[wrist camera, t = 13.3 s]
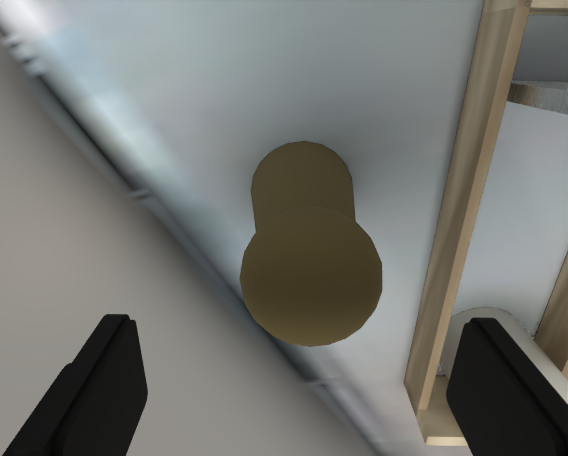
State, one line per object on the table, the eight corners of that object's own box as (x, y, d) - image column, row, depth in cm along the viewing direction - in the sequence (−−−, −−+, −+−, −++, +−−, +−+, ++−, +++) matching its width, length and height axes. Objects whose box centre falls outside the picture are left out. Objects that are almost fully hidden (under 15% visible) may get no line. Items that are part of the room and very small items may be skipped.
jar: (533, 306, 26) (666, 445, 17) (508, 374, 28) (612, 525, 19) (442, 304, 26) (526, 442, 17) (425, 372, 28) (491, 523, 19)
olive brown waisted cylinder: (317, 119, 21) (346, 183, 11) (371, 204, 23) (437, 325, 13) (230, 179, 22) (183, 284, 12) (288, 254, 24) (289, 396, 14)
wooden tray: (678, -2, 18) (809, -20, 13) (524, 385, 29) (568, 448, 24) (486, -6, 18) (552, -25, 13) (403, 383, 29) (425, 444, 24)
